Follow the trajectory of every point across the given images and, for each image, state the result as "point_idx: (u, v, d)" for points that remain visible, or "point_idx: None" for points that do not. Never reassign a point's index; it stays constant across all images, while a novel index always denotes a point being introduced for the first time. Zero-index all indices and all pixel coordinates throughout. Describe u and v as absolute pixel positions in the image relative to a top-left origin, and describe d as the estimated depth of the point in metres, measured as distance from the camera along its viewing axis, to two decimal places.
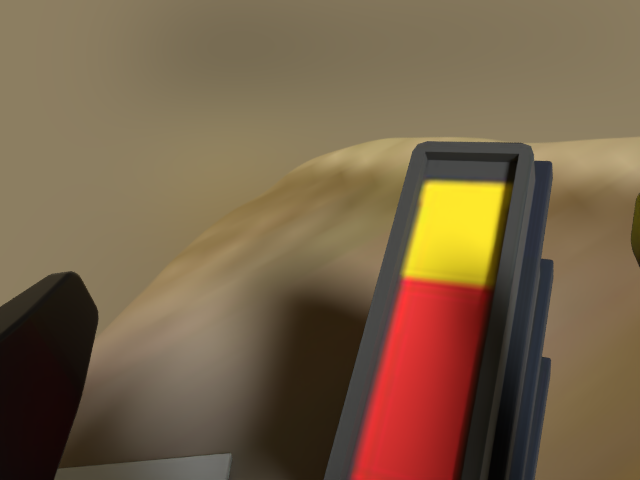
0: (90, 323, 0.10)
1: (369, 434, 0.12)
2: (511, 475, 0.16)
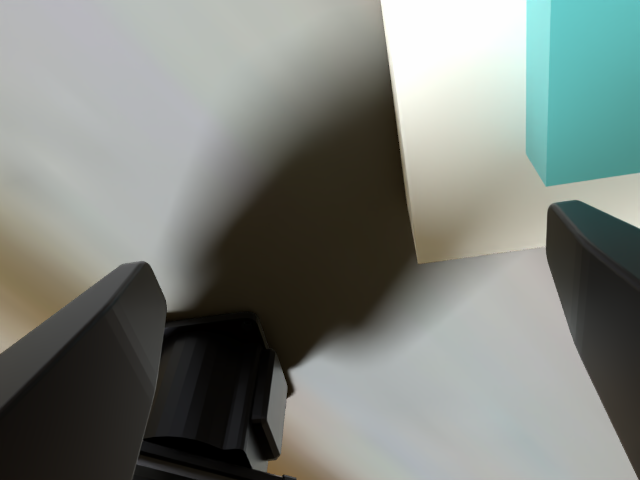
0: (160, 314, 0.09)
1: None
2: None
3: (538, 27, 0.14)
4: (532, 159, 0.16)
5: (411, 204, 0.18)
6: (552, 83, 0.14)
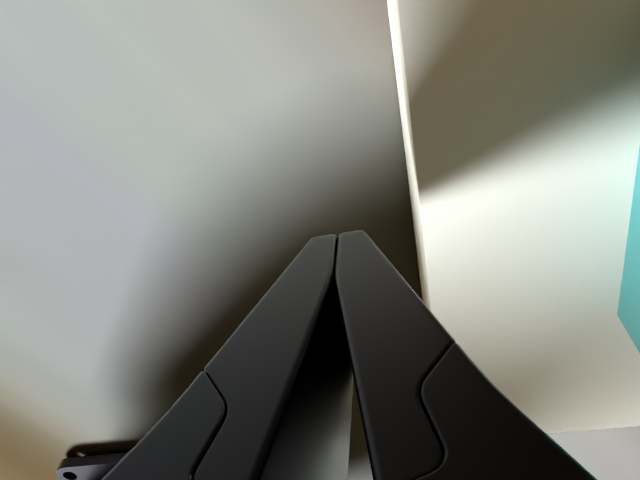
0: None
1: None
2: None
3: None
4: (633, 334, 0.10)
5: None
6: None
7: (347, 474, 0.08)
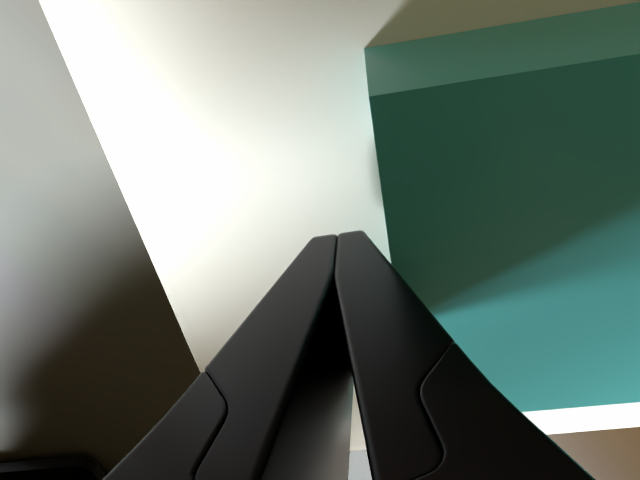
0: None
1: None
2: None
3: None
4: None
5: None
6: None
7: (347, 474, 0.08)
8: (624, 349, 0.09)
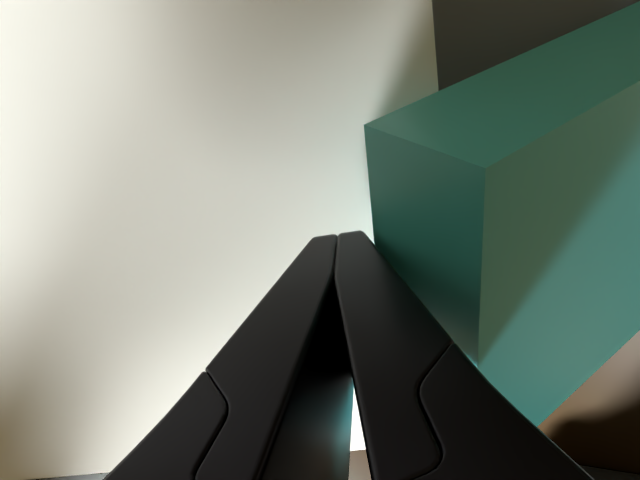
0: None
1: None
2: None
3: (428, 282, 0.08)
4: None
5: None
6: None
7: (348, 474, 0.08)
8: (598, 329, 0.10)
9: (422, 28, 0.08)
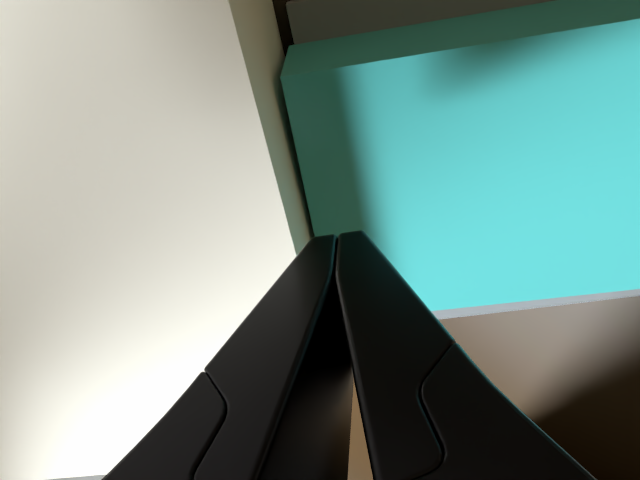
0: None
1: None
2: None
3: None
4: None
5: None
6: (317, 221, 0.12)
7: (347, 474, 0.08)
8: (477, 261, 0.12)
9: (233, 60, 0.08)
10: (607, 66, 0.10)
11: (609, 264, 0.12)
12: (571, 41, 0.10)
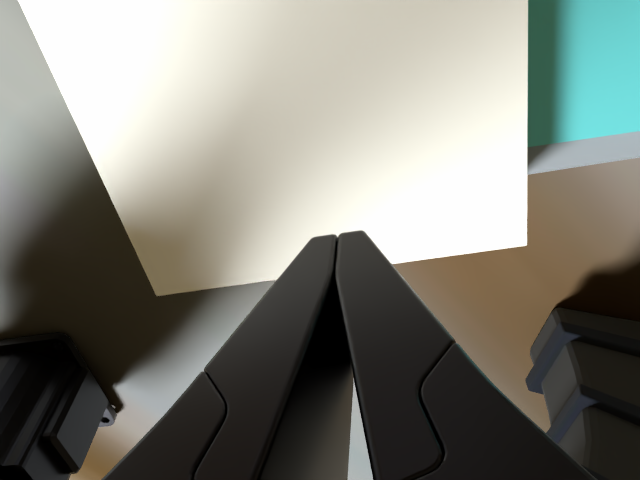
0: None
1: None
2: None
3: None
4: None
5: (133, 243, 0.19)
6: None
7: (347, 474, 0.08)
8: (630, 94, 0.18)
9: None
10: None
11: None
12: None
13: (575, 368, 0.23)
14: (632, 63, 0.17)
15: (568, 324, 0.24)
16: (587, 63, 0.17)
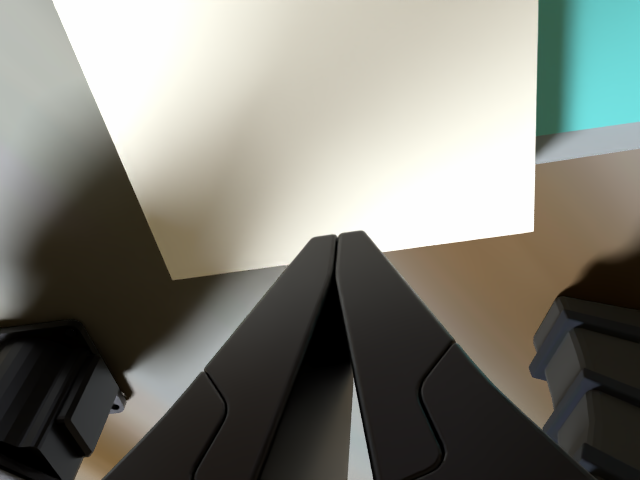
0: None
1: None
2: None
3: None
4: None
5: (151, 227, 0.20)
6: None
7: (347, 474, 0.08)
8: (634, 85, 0.18)
9: None
10: None
11: None
12: None
13: (578, 353, 0.23)
14: (637, 55, 0.18)
15: (571, 311, 0.24)
16: (593, 54, 0.18)
